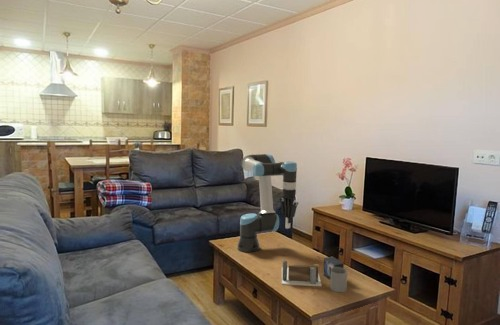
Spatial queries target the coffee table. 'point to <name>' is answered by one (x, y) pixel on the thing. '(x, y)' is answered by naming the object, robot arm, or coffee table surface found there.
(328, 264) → the small box
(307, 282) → the board
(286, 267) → the hinge post
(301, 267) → the brown wooden plank
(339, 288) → the cup
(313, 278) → the post
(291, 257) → the coffee table surface
